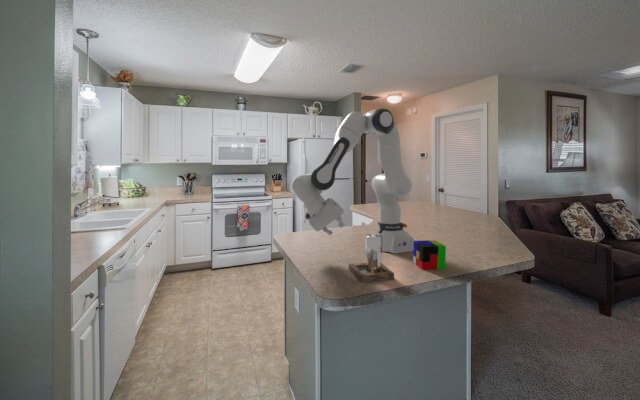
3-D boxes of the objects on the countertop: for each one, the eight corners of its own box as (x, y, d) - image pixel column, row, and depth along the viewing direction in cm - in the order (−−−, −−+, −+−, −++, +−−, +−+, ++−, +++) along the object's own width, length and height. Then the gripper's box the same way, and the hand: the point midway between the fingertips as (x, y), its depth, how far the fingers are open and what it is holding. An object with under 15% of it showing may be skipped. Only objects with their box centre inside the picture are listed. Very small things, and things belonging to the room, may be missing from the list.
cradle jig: (379, 267, 131) (379, 261, 131) (394, 279, 118) (394, 273, 118) (348, 269, 129) (348, 263, 128) (359, 282, 115) (359, 275, 115)
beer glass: (368, 267, 129) (369, 232, 127) (384, 270, 126) (385, 234, 124) (362, 272, 123) (362, 236, 122) (378, 275, 120) (379, 238, 118)
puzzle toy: (412, 262, 139) (413, 240, 137) (434, 261, 139) (435, 240, 138) (421, 269, 129) (423, 246, 128) (444, 269, 130) (446, 246, 128)
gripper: (334, 193, 134) (354, 217, 133) (311, 212, 149) (328, 235, 148) (326, 199, 130) (346, 224, 129) (303, 219, 144) (321, 241, 144)
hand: (336, 230), depth 139 cm, fingers open, 8 cm apart
